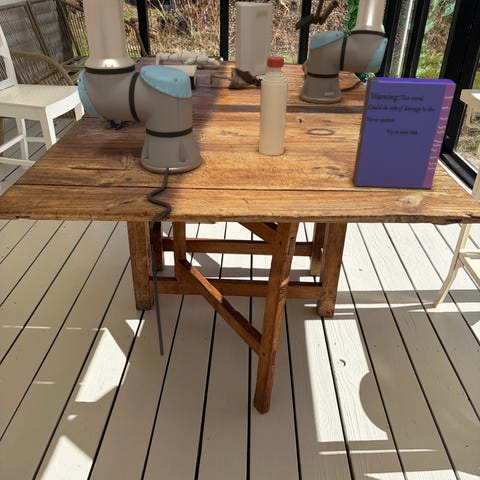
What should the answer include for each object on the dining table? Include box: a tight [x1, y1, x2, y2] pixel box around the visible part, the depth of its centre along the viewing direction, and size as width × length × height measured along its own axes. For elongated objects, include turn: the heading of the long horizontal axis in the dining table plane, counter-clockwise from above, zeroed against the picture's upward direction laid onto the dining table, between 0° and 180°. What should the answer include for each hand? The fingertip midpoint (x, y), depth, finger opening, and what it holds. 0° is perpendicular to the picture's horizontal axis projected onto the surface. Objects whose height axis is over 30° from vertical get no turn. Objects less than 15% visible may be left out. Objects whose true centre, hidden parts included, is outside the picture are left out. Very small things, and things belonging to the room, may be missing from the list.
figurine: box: [209, 66, 262, 89], centre depth 190 cm, size 24×8×30 cm
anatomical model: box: [301, 58, 308, 78], centre depth 206 cm, size 13×9×15 cm
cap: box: [267, 56, 285, 69], centre depth 120 cm, size 4×4×2 cm
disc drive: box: [157, 64, 198, 90], centre depth 197 cm, size 18×22×5 cm
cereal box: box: [352, 76, 457, 190], centre depth 107 cm, size 17×5×24 cm, turn 86°
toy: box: [155, 50, 221, 69], centre depth 223 cm, size 24×25×7 cm
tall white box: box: [234, 1, 274, 77], centre depth 210 cm, size 19×15×28 cm
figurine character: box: [98, 118, 125, 130], centre depth 148 cm, size 7×8×15 cm
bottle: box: [258, 67, 289, 156], centre depth 126 cm, size 7×7×24 cm
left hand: (173, 3), depth 150 cm, fingers open, 13 cm apart
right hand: (282, 12), depth 146 cm, fingers open, 13 cm apart
